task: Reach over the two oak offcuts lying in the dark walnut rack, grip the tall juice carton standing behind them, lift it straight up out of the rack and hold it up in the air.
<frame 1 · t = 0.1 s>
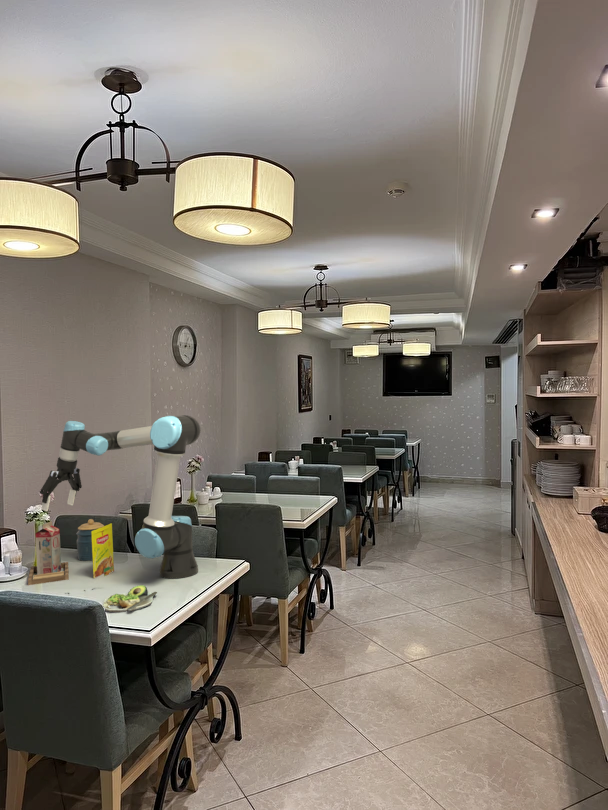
hand: (57, 507, 244), 28 cm above the table, tool tilted 20°, fingers open, 13 cm apart
walnut rack: (49, 579, 238), on the table
upper oak offcut: (49, 579, 233), point 1 cm above the table, touching lower oak offcut
food package: (104, 576, 239), on the table
juice carton: (49, 577, 242), on the table
canister: (92, 557, 271), on the table
lower oak offcut: (49, 584, 233), on the table, touching upper oak offcut
salad plate: (129, 604, 204), on the table
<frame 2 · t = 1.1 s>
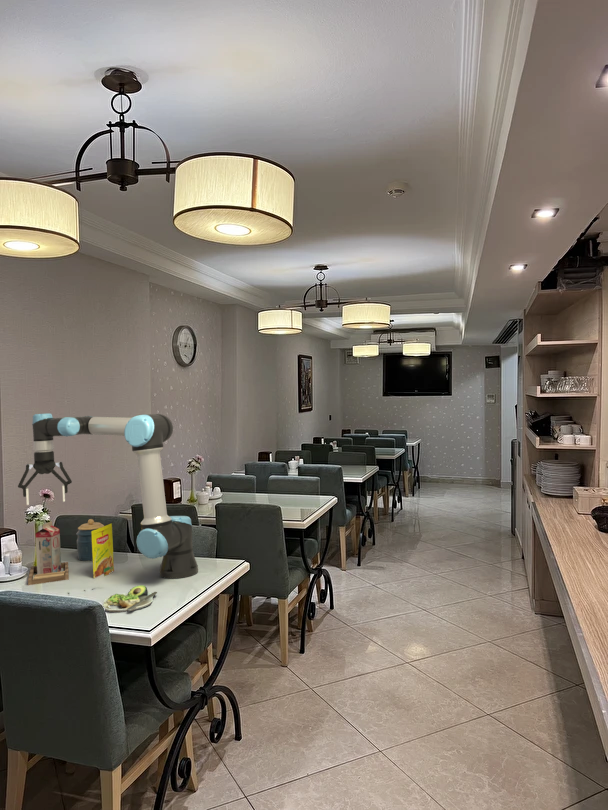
hand: (46, 502, 242), 30 cm above the table, tool pointing down, fingers open, 13 cm apart
nothing on the table moved.
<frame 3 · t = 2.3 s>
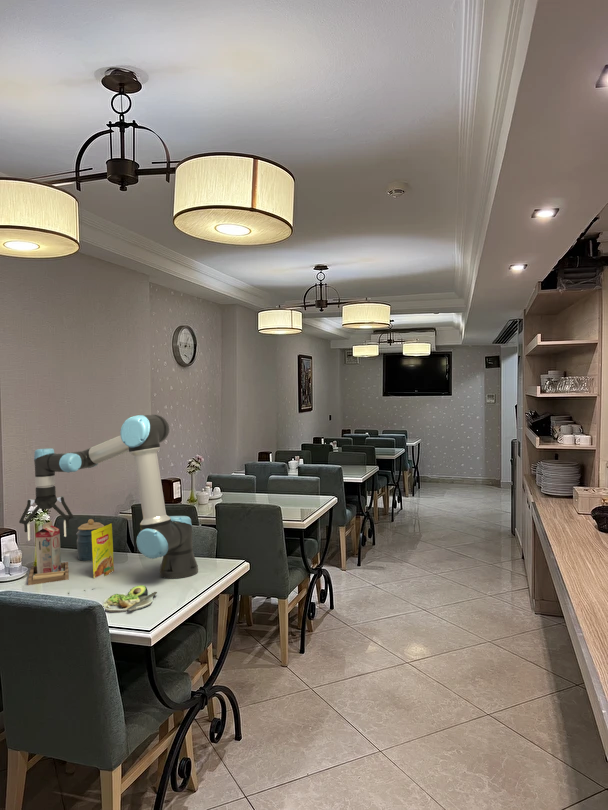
hand: (47, 538, 242), 16 cm above the table, tool pointing down, fingers open, 13 cm apart
nothing on the table moved.
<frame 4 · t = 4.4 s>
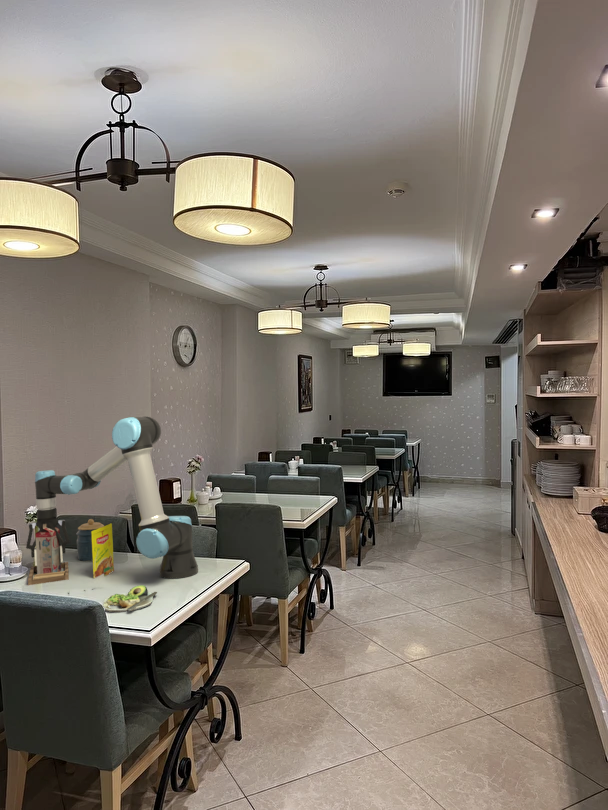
hand: (49, 563, 242), 5 cm above the table, tool pointing down, fingers closed on juice carton, 9 cm apart
juice carton: (49, 576, 242), on the table, touching gripper
everything else where it was.
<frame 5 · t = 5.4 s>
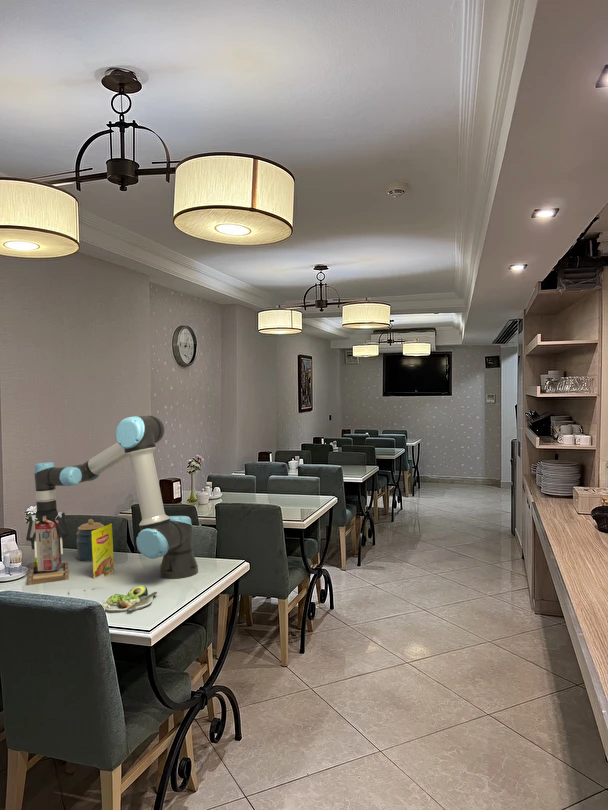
hand: (49, 555, 242), 9 cm above the table, tool pointing down, fingers closed on juice carton, 9 cm apart
juice carton: (50, 569, 242), point 3 cm above the table, touching gripper
everything else where it was.
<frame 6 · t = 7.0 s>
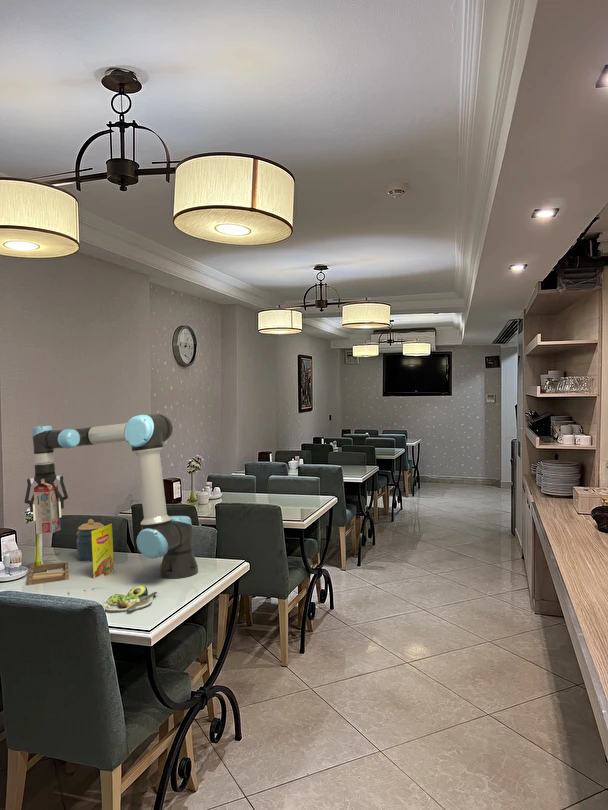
hand: (47, 518, 242), 24 cm above the table, tool pointing down, fingers closed on juice carton, 9 cm apart
juice carton: (48, 532, 242), point 18 cm above the table, touching gripper
everything else where it was.
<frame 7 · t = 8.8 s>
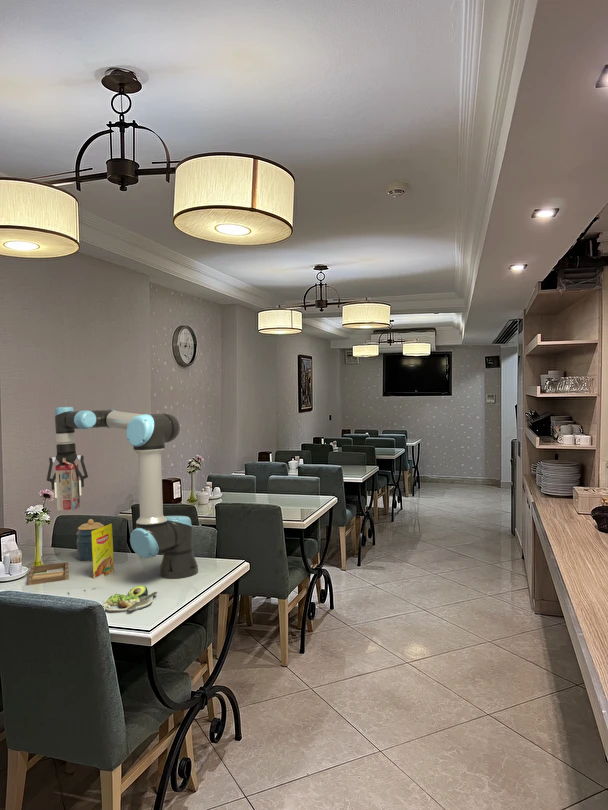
hand: (68, 496, 251), 31 cm above the table, tool pointing down, fingers closed on juice carton, 9 cm apart
upper oak offcut: (48, 579, 233), point 1 cm above the table
juice carton: (69, 509, 251), point 26 cm above the table, touching gripper
lower oak offcut: (48, 584, 232), on the table
everything else where it was.
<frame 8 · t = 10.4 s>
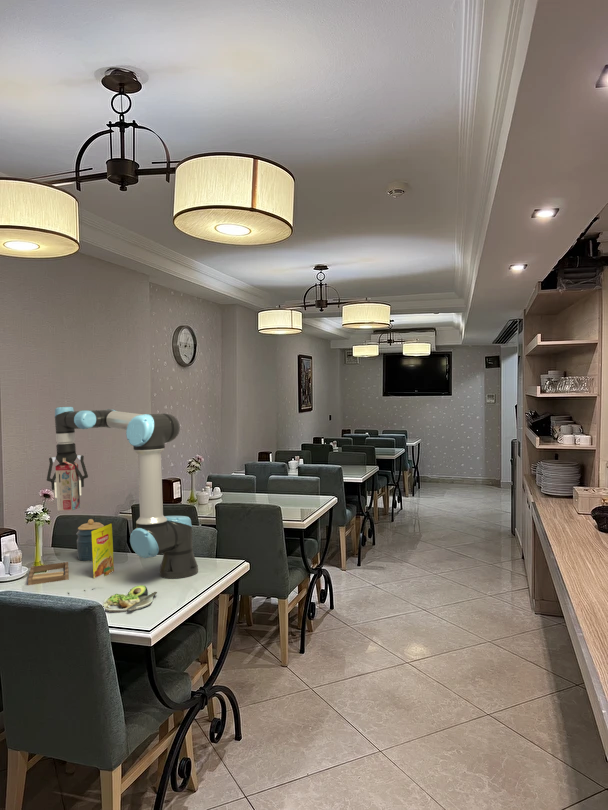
hand: (68, 496, 251), 31 cm above the table, tool pointing down, fingers closed on juice carton, 9 cm apart
upper oak offcut: (48, 579, 233), point 1 cm above the table, touching lower oak offcut
juice carton: (69, 509, 251), point 26 cm above the table, touching gripper
lower oak offcut: (48, 585, 232), on the table, touching upper oak offcut
everything else where it was.
at the end: the gripper is holding juice carton; juice carton point 25.7 cm above the table; juice carton touching gripper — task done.
